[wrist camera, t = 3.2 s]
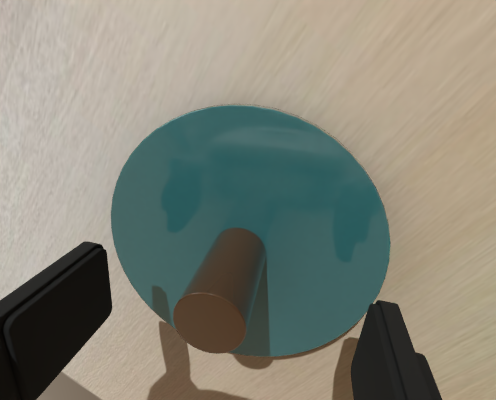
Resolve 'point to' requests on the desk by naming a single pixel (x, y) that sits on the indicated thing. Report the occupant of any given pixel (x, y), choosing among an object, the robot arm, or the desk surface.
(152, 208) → the lid
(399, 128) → the desk surface
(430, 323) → the desk surface
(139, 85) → the desk surface
